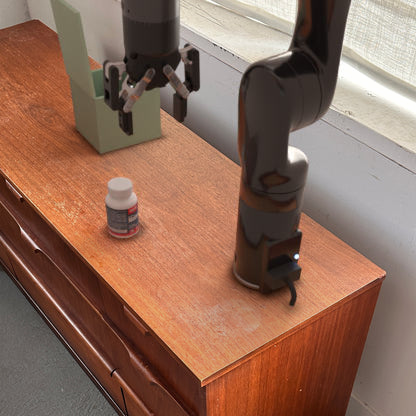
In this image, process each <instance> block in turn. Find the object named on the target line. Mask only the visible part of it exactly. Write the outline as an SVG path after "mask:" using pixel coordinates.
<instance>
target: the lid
mask: <svg viewBox="0 0 416 416" xmlns="http://www.w3.org/2000/svg"><path fill="white" fill-rule="evenodd" d="M49 1H50V7H51V10H52V11H51V12H52V15H53V19H54V20H53V21H54V24H55V28H56V33H57V38H58V42H59V46H60V51H61V56H62V59H63V64H64V68H65V69H64V70H65V73H66V75H67V76H68V77H69V76H70V77H71V78H72V79H73V80H74V81H75V82H76V83H77V84H78V85H79V86H80V87H81V88H82V89H83V90H84V91H86V92H87V93H88V94H89V95H90V96H91V97H92V98H94V97H96V94H95V89H94V83H93V78H92V73H91V70H92V69H91V63H90V58H89V54H88V53H89V52H88V48H87V42H86V38H85V31H84V27H83V22H82V16H81V12H80V11H78V10H77V9H76V8H75V7H74V6H72V4H71V3H69V2H67V1H66V0H49Z"/></svg>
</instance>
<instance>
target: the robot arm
mask: <svg viewBox="0 0 416 416" xmlns="http://www.w3.org/2000/svg"><path fill="white" fill-rule="evenodd" d="M352 3H353V0H297V12H296V17H295V23H294V28H293V33H292V36H291V40H290V44H289V46H288V49H287V50H286V51H284V52H281V53H280V52H279V53H277V54H275V55H270V56H268V57H264V58H262V59H259V60H257V61H254V62H252V63H250V64H249V65H248V66H247V67H246V68H245V70H244V71H243V74H242V76H241V79H240V82H239V87H238V95H237V153H238V158H239V162H240V178H239V191H238V204H237V205H238V206H237V216H236V217H237V219H236V231H235V234H236V235H235V244H234V252H233V256H234V259H233V261H232V262H233V264H232V266H233V267H232V273H233V276H234V278H235V279H236V280H237V282H239V283H240V284H241V285H242V286H245V287H246V288H248V289H252V290H255V291H258V292H260V293H261V294H262V295H266V294H268V293H270V292H273V291H276V290H279V289H281V288H283V287H285V286H287V288H288V291H289V294H290V300H289V302H288V306H289V307H294V306H295V305H296V302H297V299H298V293H297V290H296V287H295V285H294V283H295V282H296V281H299V280H300V279H301V274H302V269H303V268H302V266H300V265H299V264H298V263H299V257H300V252H301V246H302V241H303V231H302V230H301V229H300V223H301V217H302V210H303V205H304V204H303V203H304V198H305V192H306V186H307V180H308V174H309V168H310V167H309V165H310V162H309V159H308V157H307V155H306V153H304V151H302V150H301V149H299V148H298V147H296V146H294V145H292V144H289V143H290V141H289V140H290V134H292V133H295V132H296V131H300V130H302V129H304V128H307V127H310V126H312V125H314V124H315V123H317V122H319V121H320V120H322V119H323V118H324V117H325V115H326V114H327V113H328V112H329V110H330V108H331V105H332V103H333V100H334V97H335V94H336V89H337V84H338V79H339V72H340V66H341V60H342V55H343V47H344V41H345V36H346V31H347V26H348V20H349V15H350V11H351V7H352ZM120 8H121V18H122V36H123V47H124V57H123V59H122V61H115V62H112V61H111V60H109V59H105V60H104V61H103V63H102V68H103V86H104V102H105V103H106V104H107V105H108V106H109V107H110V108H111V109H112V110H113V111H117V110H118V119H119V127H120V129H121V130H122V131H123V132H124V133H126V134H127V135H128V136H131V135H133V118H132V111H131V108H132V107H133V105H134V103H135V101H136V100H137V99H139V98H140V97H141V95H142V93H143V91H144V90H146V91H150V90H152V89H154V88H160V89H162V88H166V87H167V85H168V84H169V85H170V86H171V88H172V89H173V91H175V92H174V93H172V96H173V97H172V116H173V118H174V120H175V121H176V122H177V123H179V124H181V123H184V122H185V118H187V116H188V98H189V96H190V94H191V93H193V92H195V93H197V92H199V91H200V89H201V63H200V62H201V61H200V60H201V59H200V57H201V56H200V51H199V49H198V48H196V47H195V46H193V45H192V44H191V43H189V42H187V43H185V44H184V45H183V47H182V48H179V46H180V44H181V42H180V41H181V0H120ZM181 62H182V63H183V66H184V67H183V70H184V73H183V74H184V81H182V80H181V78H180V77H179V76H178V74H177V73H176V71H177V69H178V67H179V65H180V63H181ZM124 71H126V73H127V74H128V75H127V77H126V78H125V80H124V82H123V84H122V90H121V92H120V94H119V80H121V79H122V74H123V72H124ZM134 82H135V84H136V86H135V88H133V84H134Z"/></svg>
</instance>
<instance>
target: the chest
mask: <svg viewBox="0 0 416 416" xmlns="http://www.w3.org/2000/svg"><path fill="white" fill-rule="evenodd" d="M91 73H92V78H93V83H94V89H95V94H96V97H94V98H92V97H91V96H90V95H89V94H88V93H87V92H86V91H84V90H83V89H82V88H81V87H80V86H79V85H78V84H77V83H76V82H75V81H74V80H73V79H72V78H71V77H70V76H69V75H68V79H69V87H70V94H71V101H72V102H71V103H72V107H73V108H72V109H73V117H74V124H75V129H76V130H77V132H79V133H80V134H81V136H83V137H84V139H85V140H86V141H87V142H88V143H89V144H90V145H91V146H92V147H93V148H94V149H95V150H96V151H97V152H98V153H99V154H100V155H102V154H107V153H110V152H113V151H117V150H121V149H123V148H128V147H131V146H134V145H137V144H141V143H145V142H149V141H153V140H156V139H160V138H162V123H161V122H162V120H161V119H162V117H161V116H162V113H161V88H154V89H152V90H150V91H146V90H144V91H143V93H142V95H141V97H140V98H139V99H137V100H136V101H135V103H134V105H133V107H132V108H131V111H132V118H133V135H131V136H128V135H127V134H126V133H124V132H123V131H122V130H121V129H120V127H119V119H118V110H117V111H113V110H112V109H111V108H110V107H109V106H108V105H107V104H106V103H105V102H104V86H103V67H99V68H96V69H91ZM127 75H128V74H127V73H126V71H124V72H123V74H122V79H121V80H119V94H120V92H121V90H122V84H123V82H124V80H125V78H126V77H127ZM135 86H136V84H135V82H134V84H133V88H135Z"/></svg>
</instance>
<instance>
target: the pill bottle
mask: <svg viewBox="0 0 416 416" xmlns="http://www.w3.org/2000/svg"><path fill="white" fill-rule="evenodd" d="M138 203H139V202H138V196H137V194H136V193H135V192H134V185H133V181H132V180H131V179H130V178H127V177H124V176H117V177H113V178H111V179H110V180H108V182H107V194H106V196H105V198H104V204H105V211H106V212H105V213H106V223H107V231H108V234H110V235H111V236H112V237H114V238H117V239H129V238H132V237H135V235H137V234H138V233H139V232H140V221H139V220H140V218H139V204H138Z"/></svg>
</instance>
